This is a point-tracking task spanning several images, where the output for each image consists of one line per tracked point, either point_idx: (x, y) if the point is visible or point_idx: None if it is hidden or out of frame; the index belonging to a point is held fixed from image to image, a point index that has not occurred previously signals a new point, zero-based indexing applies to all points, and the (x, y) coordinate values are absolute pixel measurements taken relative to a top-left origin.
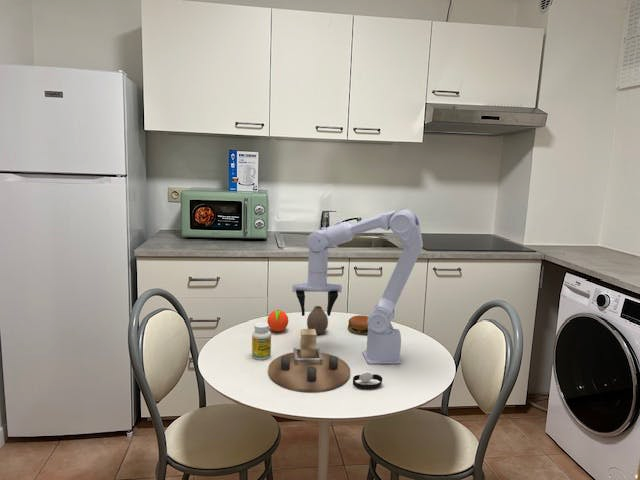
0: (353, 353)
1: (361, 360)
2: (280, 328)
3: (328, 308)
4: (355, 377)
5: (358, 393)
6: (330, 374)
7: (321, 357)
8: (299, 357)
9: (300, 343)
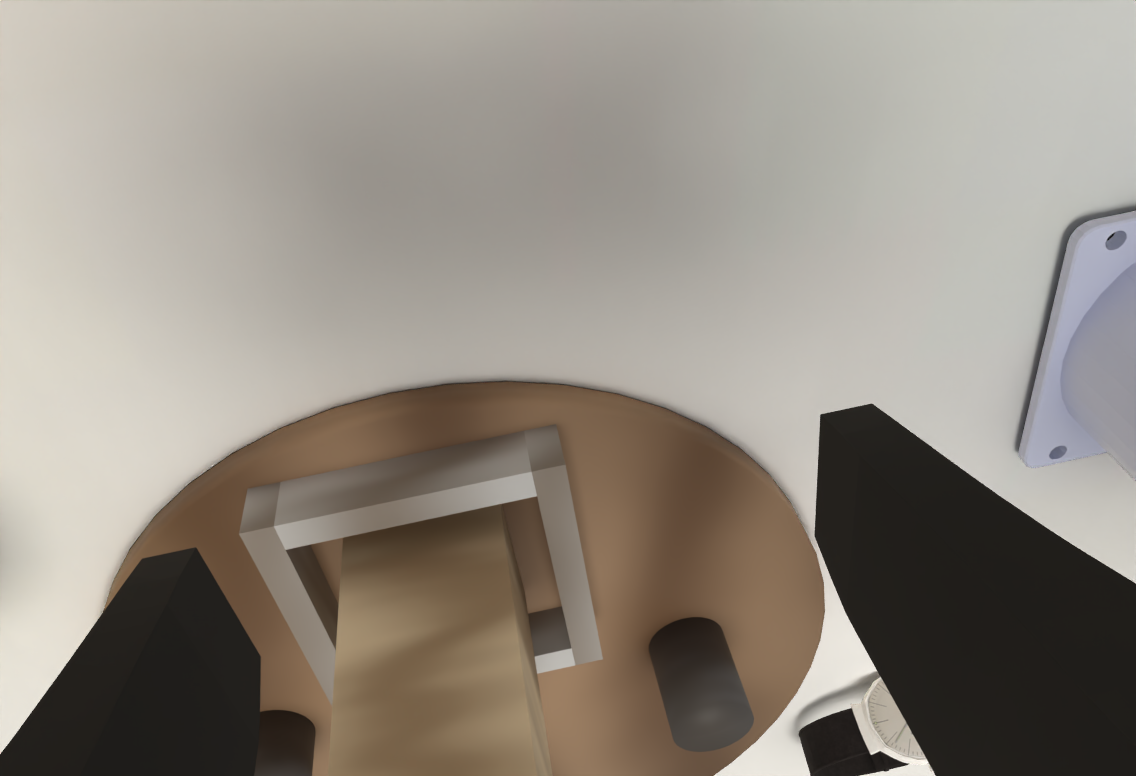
0: (952, 258)
1: (981, 396)
2: None
3: (907, 684)
4: (833, 747)
5: (809, 771)
6: (656, 714)
7: (591, 635)
8: None
9: (337, 645)
